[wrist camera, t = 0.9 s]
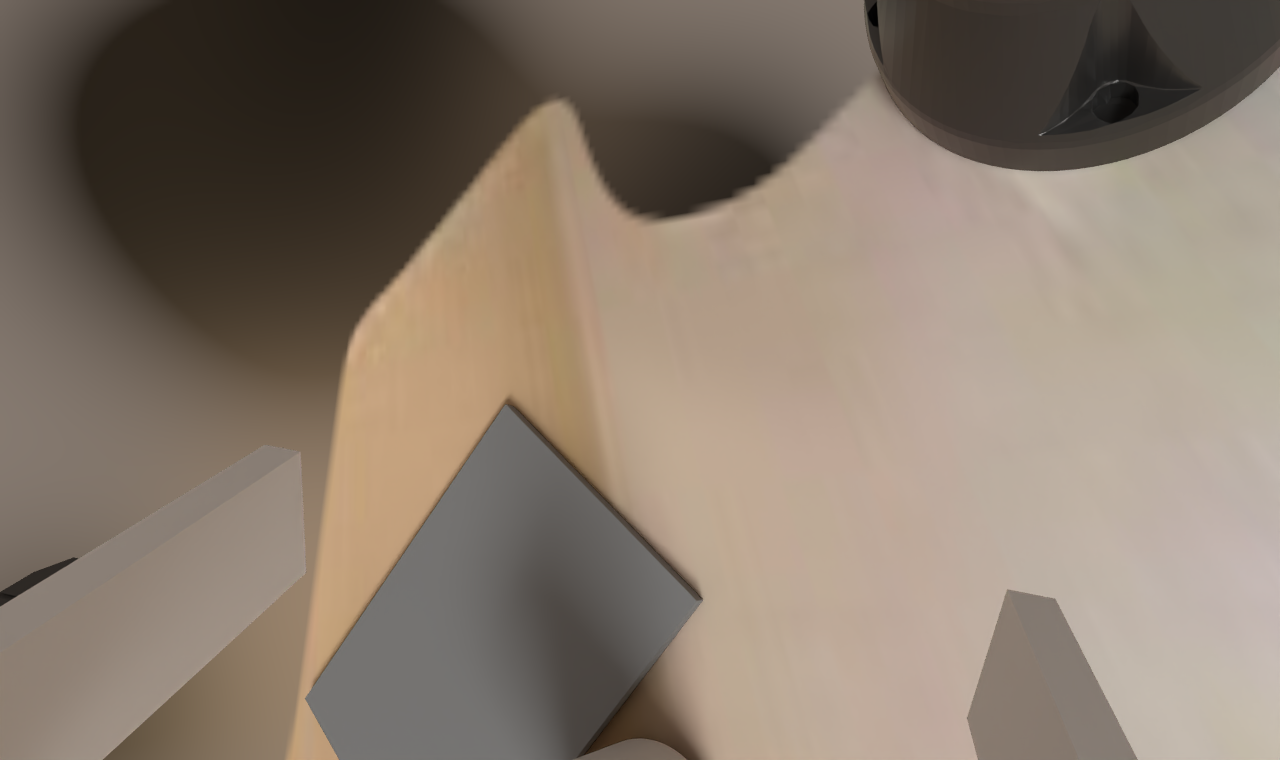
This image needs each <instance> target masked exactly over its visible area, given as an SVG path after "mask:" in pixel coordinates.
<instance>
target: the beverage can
mask: <svg viewBox="0 0 1280 760" xmlns="http://www.w3.org/2000/svg"><path fill="white" fill-rule="evenodd" d="M573 760H687V759H686V758H685V757H683V756H682V755H681V754H680V753H678V752H677V751H676V750H674V749H673V748H671V747H669V746H667V745H665V744H663V743H660V742H658V741H655V740H650V739H643V738H639V739H629V740H625V741H622V742H619V743H616V744H613V745H611V746H608V747H605V748H603V749H600V750H597V751H595V752H592V753H589V754H587V755H584V756H581V757H579V758H576V759H573Z"/></svg>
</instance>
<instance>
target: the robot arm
mask: <svg viewBox="0 0 1280 760" xmlns="http://www.w3.org/2000/svg"><path fill="white" fill-rule="evenodd" d="M864 12H865V24H866V30H867V36H868V41H869V44H870V49H871V52H872V54H873V58H874V60H875V63H876V65H877V67H878V69H879V71H880V73H881V76H882V78H883V80H884V82H885V84H886V87H887V89H888V91H889V93H890V95H891V97H892V98H893V100H894V102H895V103H896V105H897V106H898V108H899V109H900V110H901V112H902V113H903V114H904V116H905V117H906V118H907V119H908V120H909V121H910V122H911V123H912V124H913V125H914V126H915V127H916V128H917V129H918V130H919V131H920V132H922V133H923V134H924V135H925V136H927V137H928V138H929V139H931V140H932V141H934V142H935V143H937V144H939V145H940V146H942V147H944V148H946V149H948V150H949V151H951V152H953V153H956V154H958V155H960V156H963V157H965V158H968V159H971V160H974V161H977V162H980V163H984V164H988V165H992V166H997V167H1002V168H1008V169H1017V170H1029V171H1060V170H1072V169H1080V168H1087V167H1094V166H1099V165H1104V164H1109V163H1113V162H1117V161H1120V160H1124V159H1128V158H1131V157H1134V156H1137V155H1140V154H1144V153H1147V152H1149V151H1152V150H1154V149H1157V148H1160V147H1162V146H1165V145H1167V144H1169V143H1171V142H1174V141H1176V140H1178V139H1180V138H1182V137H1184V136H1186V135H1188V134H1190V133H1192V132H1194V131H1196V130H1198V129H1200V128H1201V127H1203V126H1205V125H1206V124H1208V123H1210V122H1211V121H1213V120H1215V119H1216V118H1218V117H1220V116H1221V115H1222V114H1224V113H1225V112H1227V111H1228V110H1230V109H1231V108H1233V107H1234V106H1236V105H1237V104H1238V103H1239V102H1241V101H1242V100H1243V99H1245V98H1246V97H1247V96H1248V95H1250V94H1251V93H1252V92H1253V91H1254V90H1256V89H1257V88H1258V87H1259V86H1260V85H1261V84H1262V83H1263V82H1265V81H1266V80H1267V79H1268V78H1269V77H1270V76H1271V75H1272V74H1273V73H1274V72H1275V71H1276V70H1277V69H1278V68H1279V67H1280V0H865V3H864ZM305 573H306V556H305V536H304V516H303V495H302V473H301V453H300V452H299V451H294V450H289V449H284V448H279V447H274V446H269V445H264V446H262V447H260V448H259V449H257V450H255V451H254V452H252V453H251V454H249V455H247V456H246V457H244V458H242V459H241V460H239V461H238V462H236V463H234V464H233V465H231V466H229V467H228V468H226V469H224V470H223V471H221V472H220V473H218V474H216V475H215V476H213V477H211V478H210V479H208V480H207V481H205V482H203V483H202V484H200V485H198V486H197V487H195V488H194V489H192V490H190V491H189V492H187V493H185V494H184V495H182V496H180V497H179V498H177V499H175V500H174V501H172V502H171V503H169V504H167V505H166V506H164V507H162V508H161V509H159V510H157V511H156V512H154V513H153V514H151V515H149V516H148V517H146V518H144V519H143V520H141V521H139V522H138V523H136V524H135V525H133V526H131V527H130V528H128V529H126V530H125V531H123V532H122V533H120V534H118V535H117V536H115V537H113V538H112V539H110V540H108V541H107V542H105V543H103V544H102V545H100V546H99V547H97V548H95V549H94V550H92V551H90V552H89V553H87V554H86V555H84V556H83V557H81V558H79V559H78V558H71V559H68V560H66V561H63V562H60V563H58V564H55V565H52V566H50V567H47V568H44V569H41V570H39V571H36V572H33V573H32V574H30V575H28V576H27V577H25V578H23V579H21V580H20V581H18V582H16V583H15V584H13V585H11V586H10V587H8V588H6V589H5V590H3V591H1V592H0V760H102V759H104V758H105V757H106V756H107V755H108V754H109V753H110V752H111V751H112V750H114V749H115V748H116V747H117V746H118V745H119V744H120V743H121V742H122V741H123V740H124V739H125V738H127V737H128V736H129V735H130V734H131V733H132V732H133V731H134V730H135V729H136V728H137V727H138V726H140V725H141V724H142V723H143V722H144V721H145V720H146V719H147V718H148V717H149V716H151V715H152V714H153V713H154V712H155V711H156V710H157V709H158V708H159V707H160V706H161V705H162V704H164V703H165V702H166V701H167V700H168V699H169V698H170V697H171V696H172V695H173V694H175V693H176V692H177V691H178V690H179V689H180V688H181V687H182V686H183V685H184V684H185V683H186V682H188V680H190V679H191V678H192V677H193V676H194V675H195V674H196V673H197V672H198V671H200V670H201V669H202V668H203V667H204V666H205V665H206V664H207V663H208V662H209V661H210V660H211V659H213V658H214V657H215V656H216V655H217V654H218V653H219V652H220V651H221V650H222V649H224V647H226V646H227V645H228V644H229V643H230V642H231V641H232V640H233V639H234V638H236V637H237V636H238V635H239V634H240V633H241V632H242V631H243V630H244V629H245V628H246V627H247V626H248V625H250V623H252V622H253V621H254V620H255V619H256V618H257V617H258V616H259V615H260V614H262V613H263V612H264V611H265V610H266V609H267V608H268V607H269V606H270V605H271V604H273V603H274V602H275V601H276V600H277V599H278V598H279V597H280V596H281V595H282V594H283V593H285V591H287V590H288V589H289V588H290V587H291V586H292V585H293V584H294V583H295V582H296V581H297V580H299V579H300V578H301V577H302V576H303V575H304V574H305ZM967 720H968V723H969V727H970V731H971V735H972V738H973V742H974V746H975V750H976V753H977V757H978V760H1138V759H1137V757H1136V756H1135V754H1134V752H1133V750H1132V748H1131V746H1130V744H1129V742H1128V740H1127V738H1126V736H1125V734H1124V732H1123V730H1122V728H1121V726H1120V724H1119V722H1118V720H1117V718H1116V717H1115V715H1114V713H1113V711H1112V709H1111V707H1110V705H1109V703H1108V701H1107V699H1106V697H1105V695H1104V693H1103V691H1102V689H1101V687H1100V685H1099V683H1098V681H1097V680H1096V678H1095V676H1094V674H1093V672H1092V670H1091V668H1090V666H1089V664H1088V662H1087V660H1086V658H1085V656H1084V654H1083V652H1082V650H1081V648H1080V646H1079V644H1078V642H1077V641H1076V639H1075V637H1074V635H1073V633H1072V631H1071V629H1070V627H1069V625H1068V623H1067V621H1066V619H1065V617H1064V615H1063V613H1062V611H1061V609H1060V607H1059V605H1058V603H1057V602H1056V600H1055V599H1053V598H1048V597H1043V596H1038V595H1033V594H1028V593H1023V592H1018V591H1012V590H1007V592H1006V595H1005V598H1004V602H1003V605H1002V608H1001V611H1000V614H999V618H998V621H997V624H996V627H995V630H994V634H993V637H992V640H991V643H990V646H989V650H988V653H987V656H986V659H985V662H984V666H983V669H982V672H981V675H980V678H979V682H978V685H977V688H976V691H975V694H974V698H973V701H972V704H971V707H970V710H969V714H968V717H967Z"/></svg>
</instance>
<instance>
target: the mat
mask: <svg viewBox="0 0 1280 760" xmlns="http://www.w3.org/2000/svg"><path fill="white" fill-rule="evenodd" d="M702 601H703V600H702V599H701V598H700V597H699V596H698V594H697V593H696V592H695V591H694V590H693V589H692V588H691V587H690V586H689V585H688V584H687V583H686V582H685V581H684V580H683V579H682V578H681V577H680V576H679V575H678V574H677V573H676V572H675V571H674V570H673V569H672V568H671V567H670V566H669V565H668V564H667V563H666V562H665V561H664V560H663V559H662V558H661V557H660V556H659V555H658V554H657V553H656V552H655V551H654V550H653V548H652V547H651V546H650V545H649V544H648V543H647V542H646V541H645V540H644V539H643V538H642V537H641V536H640V535H639V534H638V533H637V532H636V531H635V530H634V529H633V528H632V527H631V526H630V525H629V524H628V523H627V522H626V521H625V520H624V519H623V518H622V517H621V516H620V515H619V514H618V513H617V512H616V511H615V510H614V509H613V508H612V507H611V506H610V505H609V503H608V502H607V501H606V500H605V499H604V498H603V497H602V496H601V495H600V494H599V493H598V492H597V491H596V490H595V489H594V488H593V487H592V486H591V485H590V484H589V483H588V482H587V481H586V480H585V479H584V478H583V477H582V476H581V475H580V474H579V473H578V472H577V471H576V470H575V469H574V468H573V467H572V466H571V465H570V464H569V463H568V462H567V461H566V460H565V459H564V457H563V456H562V455H561V454H560V453H559V452H558V451H557V450H556V449H555V448H554V447H553V446H552V445H551V444H550V443H549V442H548V441H547V440H546V439H545V438H544V437H543V436H542V435H541V434H540V433H539V432H538V431H537V430H536V429H535V428H534V427H533V426H532V425H531V424H530V423H529V422H528V421H527V420H526V419H525V418H524V417H523V416H522V415H521V414H520V413H519V411H518V410H517V409H516V408H515V407H514V406H511V405H507V404H505V406H504V407H503V409H502V410H501V411H500V413H499V414H498V416H497V417H496V419H495V420H494V422H493V423H492V425H491V426H490V428H489V429H488V431H487V432H486V434H485V435H484V436H483V438H482V439H481V441H480V442H479V444H478V445H477V447H476V448H475V450H474V451H473V453H472V454H471V456H470V457H469V458H468V460H467V461H466V463H465V464H464V466H463V467H462V469H461V470H460V472H459V473H458V475H457V476H456V478H455V479H454V481H453V482H452V483H451V485H450V486H449V488H448V489H447V491H446V492H445V494H444V495H443V497H442V498H441V500H440V501H439V503H438V504H437V506H436V507H435V508H434V510H433V511H432V513H431V514H430V516H429V517H428V519H427V520H426V522H425V523H424V525H423V526H422V528H421V529H420V530H419V532H418V533H417V535H416V536H415V538H414V539H413V541H412V542H411V544H410V545H409V547H408V548H407V550H406V551H405V553H404V554H403V555H402V557H401V558H400V560H399V561H398V563H397V564H396V566H395V567H394V569H393V570H392V572H391V573H390V575H389V576H388V577H387V579H386V580H385V582H384V583H383V585H382V586H381V588H380V589H379V591H378V592H377V594H376V595H375V597H374V598H373V600H372V601H371V602H370V604H369V605H368V607H367V608H366V610H365V611H364V613H363V614H362V616H361V617H360V619H359V620H358V622H357V623H356V625H355V626H354V627H353V629H352V630H351V632H350V633H349V635H348V636H347V638H346V639H345V641H344V642H343V644H342V645H341V647H340V648H339V649H338V651H337V652H336V654H335V655H334V657H333V658H332V660H331V661H330V663H329V664H328V666H327V667H326V669H325V670H324V672H323V673H322V674H321V676H320V677H319V679H318V680H317V682H316V683H315V685H314V686H313V688H312V689H311V691H310V692H309V694H308V695H307V696H306V698H305V699H306V701H307V703H308V705H309V706H310V708H311V710H312V712H313V714H314V715H315V717H316V719H317V721H318V723H319V724H320V726H321V728H322V730H323V732H324V733H325V735H326V737H327V739H328V740H329V742H330V744H331V746H332V748H333V749H334V751H335V753H336V755H337V757H338V758H339V760H573V759H576V758H579V757H581V756H584V754H585V753H586V752H587V750H588V749H589V748H590V746H591V745H592V744H593V743H594V741H595V740H596V739H597V737H598V736H599V735H600V733H601V732H602V731H603V729H604V728H605V727H606V726H607V724H608V723H609V722H610V720H611V719H612V718H613V716H614V715H615V714H616V713H617V711H618V710H619V709H620V707H621V706H622V705H623V703H624V702H625V701H626V700H627V698H628V697H629V696H630V694H631V693H632V692H633V690H634V689H635V688H636V687H637V685H638V684H639V683H640V681H641V680H642V679H643V677H644V676H645V675H646V674H647V672H648V671H649V670H650V668H651V667H652V666H653V664H654V663H655V662H656V661H657V659H658V658H659V657H660V655H661V654H662V653H663V651H664V650H665V649H666V648H667V646H668V645H669V644H670V642H671V641H672V640H673V638H674V637H675V636H676V635H677V633H678V632H679V631H680V629H681V628H682V627H683V625H684V624H685V623H686V622H687V620H688V619H689V618H690V616H691V615H692V614H693V612H694V611H695V610H696V609H697V607H698V606H699V605H700V603H701V602H702Z"/></svg>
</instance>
